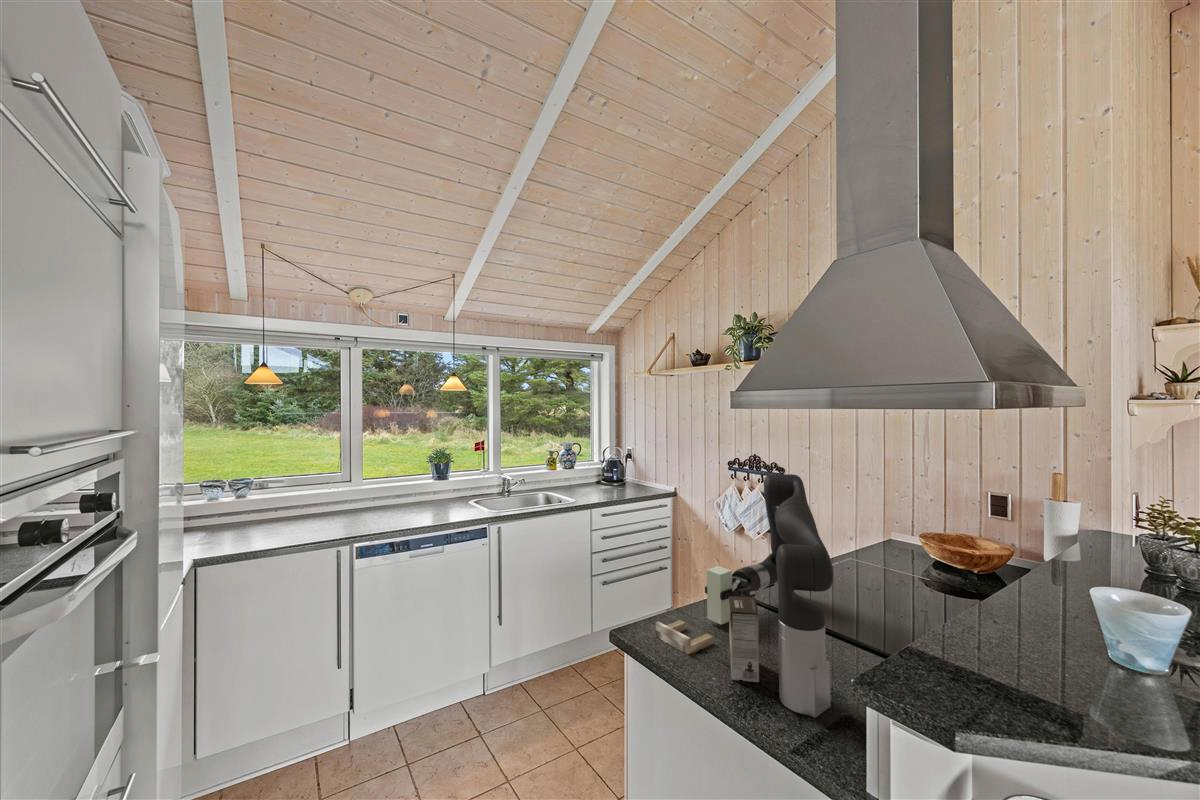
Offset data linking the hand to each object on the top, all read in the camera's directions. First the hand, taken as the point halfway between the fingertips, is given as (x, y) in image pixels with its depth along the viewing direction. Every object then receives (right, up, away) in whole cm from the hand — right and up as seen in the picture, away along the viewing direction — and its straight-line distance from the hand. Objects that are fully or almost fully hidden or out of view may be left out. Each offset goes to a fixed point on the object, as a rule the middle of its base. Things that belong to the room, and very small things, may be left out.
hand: (713, 593), depth 139 cm
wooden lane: (-10, -10, -7) cm, 16 cm away
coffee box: (+2, -10, -22) cm, 24 cm away
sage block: (+2, -8, +2) cm, 8 cm away
